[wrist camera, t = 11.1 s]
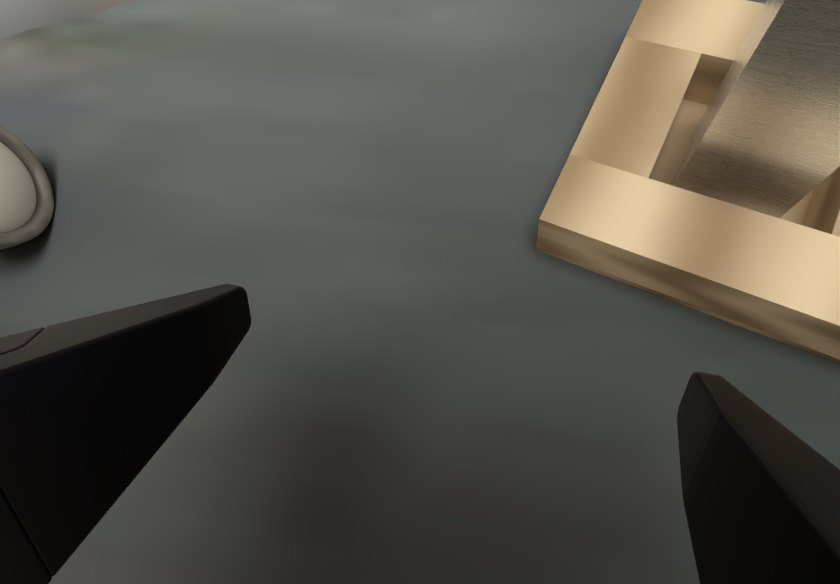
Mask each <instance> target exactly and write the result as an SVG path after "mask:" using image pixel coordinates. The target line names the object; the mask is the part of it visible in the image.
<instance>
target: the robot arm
mask: <svg viewBox="0 0 840 584" xmlns="http://www.w3.org/2000/svg"><path fill="white" fill-rule="evenodd" d="M250 325H251V315H250V309H249V303H248V297H247V293H246V291H245V289H244V288H243V287H240V286H235V285H230V284H224V285H219V286H215V287H211V288H207V289H203V290H198V291H194V292H190V293H186V294H182V295H177V296H173V297H169V298H165V299H161V300H156V301H152V302H148V303H144V304H140V305H135V306H131V307H127V308H123V309H118V310H114V311H110V312H106V313H102V314H97V315H93V316H89V317H85V318H81V319H76V320H72V321H68V322H64V323H60V324H55V325H51V326H48V327H46V328H38V329H34V330H30V331H26V332H21V333H17V334H13V335H8V336H4V337H0V584H48V583H49V582H50V581H51V579H52V576H54V575H55V574H56V573H57V572H58V571H59V569H60V568H61V567H62V566H63V565H64V563H65V562H66V561H67V560H68V558H69V557H70V556H71V555H72V554H73V552H74V551H75V550H76V549H77V548H78V546H79V545H80V544H81V543H82V542H83V540H84V539H85V538H86V537H87V535H88V534H89V533H90V532H91V531H92V529H93V528H94V527H95V526H96V525H97V523H98V522H99V521H100V520H101V518H102V517H103V516H104V515H105V514H106V512H107V511H108V510H109V509H110V508H111V506H112V505H113V504H114V503H115V502H116V500H117V499H118V498H119V497H120V495H121V494H122V493H123V492H124V491H125V489H126V488H127V487H128V486H129V485H130V483H131V482H132V481H133V480H134V478H135V477H136V476H137V475H138V474H139V472H140V471H141V470H142V469H143V468H144V466H145V465H146V464H147V463H148V462H149V460H150V459H151V458H152V457H153V455H154V454H155V453H156V452H157V451H158V449H159V448H160V447H161V446H162V445H163V443H164V442H165V441H166V440H167V438H168V437H169V436H170V435H171V434H172V432H173V431H174V430H175V429H176V428H177V426H178V425H179V424H180V423H181V421H182V420H183V419H184V418H185V417H186V415H187V414H188V413H189V412H190V411H191V409H192V408H193V407H194V406H195V405H196V403H197V402H198V401H199V400H200V398H201V397H202V396H203V395H204V394H205V392H206V391H207V390H208V389H209V387H210V386H211V385H212V384H213V382H214V381H215V379H216V378H217V377H218V375H219V374H220V372H221V371H222V369H223V368H224V366H225V365H226V363H227V362H228V360H229V359H230V357H231V356H232V354H233V353H234V351H235V350H236V348H237V347H238V345H239V344H240V342H241V341H242V339H243V338H244V336H245V335H246V333H247V332H248V330H249V328H250ZM677 425H678V439H679V453H680V467H681V481H682V492H683V500H684V506H685V512H686V517H687V522H688V526H689V531H690V536H691V541H692V546H693V551H694V556H695V561H696V566H697V570H698V575H699V580H700V584H840V470H839V469H838V468H837V467H836V466H834V465H833V464H832V463H830V462H829V461H828V460H827V459H825V458H824V457H823V456H822V455H820V454H819V453H818V452H817V451H815V450H814V449H813V448H812V447H810V446H809V445H808V444H807V443H805V442H804V441H803V440H801V439H800V438H799V437H798V436H796V435H795V434H794V433H793V432H791V431H790V430H789V429H788V428H786V427H785V426H784V425H783V424H781V423H780V422H779V421H778V420H776V419H775V418H774V417H773V416H771V415H770V414H769V413H767V412H766V411H765V410H764V409H762V408H761V407H760V406H759V405H757V404H756V403H755V402H754V401H752V400H751V399H750V398H749V397H747V396H746V395H745V394H744V393H742V392H741V391H740V390H739V389H737V388H736V387H735V386H733V385H732V384H731V383H730V382H728V381H727V380H726V379H725V378H723V377H722V376H720V375H715V374H710V373H705V372H695V373H693V374H692V375H691V377H690V379H689V382H688V384H687V387H686V390H685V392H684V395H683V398H682V400H681V403H680V405H679V409H678V414H677Z"/></svg>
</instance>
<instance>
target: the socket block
mask: <svg viewBox="0 0 840 584" xmlns="http://www.w3.org/2000/svg"><path fill="white" fill-rule="evenodd" d="M764 5H765V4H763V3H757V2H752V1H746V0H643V1H642V3H641V5H640V7H639V9H638V12H637V14H636V16H635V18H634V20H633V22H632V24H631V26H630V28H629V31H628V33H627V35H626V37H625V39H624V41H623V43H622V45H621V47H620V50H619V52H618V54H617V56H616V58H615V60H614V62H613V64H612V66H611V68H610V71H609V73H608V75H607V77H606V79H605V81H604V83H603V85H602V87H601V90H600V92H599V94H598V96H597V98H596V100H595V102H594V104H593V106H592V109H591V111H590V113H589V115H588V117H587V119H586V121H585V123H584V125H583V128H582V130H581V132H580V134H579V136H578V138H577V140H576V142H575V144H574V147H573V149H572V151H571V153H570V155H569V157H568V159H567V161H566V163H565V166H564V168H563V170H562V172H561V174H560V176H559V178H558V180H557V182H556V185H555V187H554V189H553V191H552V193H551V195H550V197H549V199H548V201H547V204H546V206H545V208H544V210H543V212H542V214H541V216H540V218H539V224H538V233H537V241H536V249H535V250H537V251H540V252H543V253H545V254H548V255H551V256H553V257H556V258H559V259H561V260H564V261H567V262H569V263H572V264H575V265H577V266H580V267H583V268H585V269H588V270H591V271H593V272H596V273H599V274H601V275H604V276H607V277H609V278H612V279H615V280H617V281H620V282H623V283H625V284H628V285H631V286H633V287H636V288H639V289H641V290H644V291H647V292H649V293H652V294H655V295H657V296H660V297H663V298H665V299H668V300H671V301H673V302H676V303H679V304H681V305H684V306H687V307H689V308H692V309H695V310H697V311H700V312H703V313H705V314H708V315H711V316H713V317H716V318H719V319H721V320H724V321H727V322H729V323H732V324H735V325H737V326H740V327H743V328H745V329H748V330H751V331H753V332H756V333H759V334H761V335H764V336H767V337H769V338H772V339H775V340H777V341H780V342H783V343H785V344H788V345H791V346H793V347H796V348H799V349H801V350H804V351H807V352H809V353H812V354H815V355H817V356H820V357H823V358H825V359H828V360H831V361H833V362H836V363H839V364H840V166H839V167H838V168H837V169H836V170H835V171H833V172H832V173H831V174H830V175H829V176H828V177H827V178H825V179H824V180H823V181H822V182H821V183H820V184H819V185H817V186H816V187H815V188H814V189H813V190H812V191H811V192H809V193H808V194H807V195H806V196H805V197H804V198H803V199H801V200H800V201H799V202H798V203H797V204H796V205H794V206H793V207H792V208H791V209H790V210H789V211H788V212H786V213H785V214H784V215H783V216H782V217H781V218H776V217H773V216H770V215H767V214H763V213H760V212H757V211H754V210H750V209H747V208H744V207H740V206H737V205H734V204H731V203H727V202H724V201H721V200H718V199H714V198H711V197H708V196H704V195H701V194H698V193H695V192H691V191H688V190H685V189H682V188H678V187H675V186H672V184H673V182H674V179H675V177H676V175H677V172H678V170H679V167H680V165H681V163H682V160H683V158H684V156H685V153H686V151H687V149H688V146H689V144H690V142H691V139H692V137H693V134H694V132H695V130H696V127H697V125H698V123H699V121H700V119H701V118H702V116H703V114H704V112H705V110H706V109H707V107H708V105H709V103H710V101H711V100H712V98H713V96H714V94H715V93H716V91H717V89H718V87H719V85H720V84H721V82H722V80H723V78H724V76H725V75H726V73H727V71H728V69H729V68H730V66H731V64H732V62H733V60H734V59H735V57H736V55H737V53H738V51H739V50H740V48H741V46H742V44H743V42H744V41H745V39H746V37H747V35H748V34H749V32H750V30H751V28H752V26H753V25H754V23H755V21H756V19H757V17H758V16H759V14H760V12H761V10H762V9H763V7H764Z"/></svg>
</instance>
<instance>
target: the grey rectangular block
mask: <svg viewBox="0 0 840 584" xmlns="http://www.w3.org/2000/svg"><path fill="white" fill-rule="evenodd" d="M839 166H840V0H767V1H766V3H765V5H764V7H763V9H762V10H761V12H760V14H759V16H758V17H757V19H756V21H755V23H754V25H753V26H752V28H751V30H750V32H749V34H748V35H747V37H746V39H745V41H744V42H743V44H742V46H741V48H740V50H739V51H738V53H737V55H736V57H735V59H734V60H733V62H732V64H731V66H730V68H729V69H728V71H727V73H726V75H725V76H724V78H723V80H722V82H721V84H720V85H719V87H718V89H717V91H716V93H715V94H714V96H713V98H712V100H711V101H710V103H709V105H708V107H707V109H706V110H705V112H704V114H703V116H702V118H701V119H700V121H699V123H698V125H697V127H696V130H695V132H694V134H693V137H692V139H691V142H690V144H689V146H688V149H687V151H686V153H685V156H684V158H683V160H682V163H681V165H680V167H679V170H678V172H677V175H676V177H675V179H674V182H673V184H672V186H675V187H678V188H682V189H685V190H688V191H691V192H695V193H698V194H701V195H704V196H708V197H711V198H714V199H718V200H721V201H724V202H727V203H731V204H734V205H737V206H740V207H744V208H747V209H750V210H754V211H757V212H760V213H763V214H767V215H770V216H773V217H776V218H781V217H782V216H783V215H784V214H785V213H786V212H788V211H789V210H790V209H791V208H792V207H793V206H794V205H796V204H797V203H798V202H799V201H800V200H801V199H803V198H804V197H805V196H806V195H807V194H808V193H809V192H811V191H812V190H813V189H814V188H815V187H816V186H817V185H819V184H820V183H821V182H822V181H823V180H824V179H825V178H827V177H828V176H829V175H830V174H831V173H832V172H833V171H835V170H836V169H837V168H838V167H839Z"/></svg>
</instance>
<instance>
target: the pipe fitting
mask: <svg viewBox="0 0 840 584" xmlns="http://www.w3.org/2000/svg"><path fill="white" fill-rule="evenodd" d="M53 211H54V198H53V192H52V188H51V185H50V182H49V179H48V176H47V174H46V172H45V170H44V168H43V167H42V165H41V164H40V162H39V161H38V159H37V158H36V156H35V155H34V154H33V153H32V151H31V150H30V149H29V148H28V147H27V146H26V145H25V144H24V143H23V142H22V141H21V140H20V139H19V138H18V137H16V136H15V135H14V134H12V133H11V132H10V131H8V130H7V129H5V128H3V127H2V126H0V250H3V249H6V248H10V247H13V246H16V245H19V244H22V243H24V242H27V241H29V240H31V239H33V238H35V237H37V236H38V235H39V234H41V233H42V232H43V231H44V230H45V229H46V227H47V226H48V224H49V223H50V221H51V218H52V216H53Z"/></svg>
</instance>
